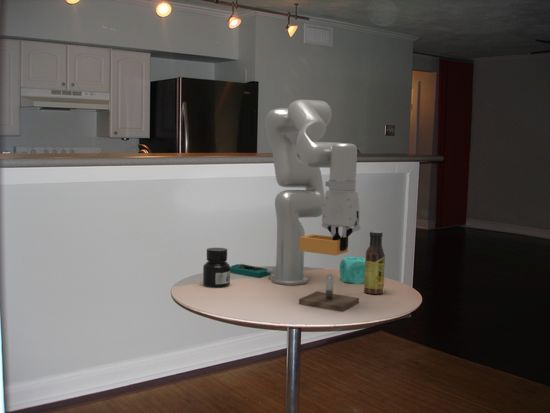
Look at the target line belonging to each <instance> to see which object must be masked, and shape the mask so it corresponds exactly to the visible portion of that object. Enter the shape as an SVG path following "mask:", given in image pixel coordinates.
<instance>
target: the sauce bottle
mask: <svg viewBox="0 0 550 413" xmlns="http://www.w3.org/2000/svg"><path fill="white" fill-rule="evenodd" d="M369 239H370V240H369V246H368V248H367V249H366V252H365V259H366V260H365V275H364V283H363V289H364V290H363V291H364V293H366V294H370V295H382V294H383V293H384V292H383V291H384V285H385V283H384V282H385V268H386V267H385V265H386V264H385V261H386V256H385V253H384V249H383V246H382V245H383V243H382V240H383V232H382V231H378V230H375V231H369Z"/></svg>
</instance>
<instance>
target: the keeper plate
mask: <svg viewBox="0 0 550 413" xmlns="http://www.w3.org/2000/svg"><path fill="white" fill-rule="evenodd" d="M325 281H326V283H325V285H326V286H325V292H324V291H315V292H312V293H310V294H308V295H305V296H303V297H301V298H299V299H298V305H302V306H308V307H313V308H314V307H315V308H319V309H326V310H331V311H335V312H342V313H343V312H344V311H346V310H348V309H350V308H351V307H353V306H355V305H357V304H359V302H360V301H359V300H360V297H354V296H350V295H349V296H348V295H343V294H336V293H333V292H334V275H333V273H328V274H327V275H326V280H325Z"/></svg>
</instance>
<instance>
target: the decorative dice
mask: <svg viewBox="0 0 550 413" xmlns="http://www.w3.org/2000/svg"><path fill="white" fill-rule="evenodd" d="M365 260H366V258H364V257H358V256H346V257H343V258H342V259H341V261H340V264H339V275H340V279H341V281H342V282H344V283H347V284H352V283H353V285H355V284H357V285H359V284H364V275H365Z"/></svg>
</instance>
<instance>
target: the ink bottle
mask: <svg viewBox="0 0 550 413" xmlns="http://www.w3.org/2000/svg"><path fill="white" fill-rule="evenodd" d="M206 260H207V261H206V263H204V265H203V268H202V269H203V270H202V285H203V286H205V287H209V288H225V287H227V286H229V285H230V284H231V273H230V267H231V266H230V264H229V263H228V248H224V247H208V248H207V249H206Z"/></svg>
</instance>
